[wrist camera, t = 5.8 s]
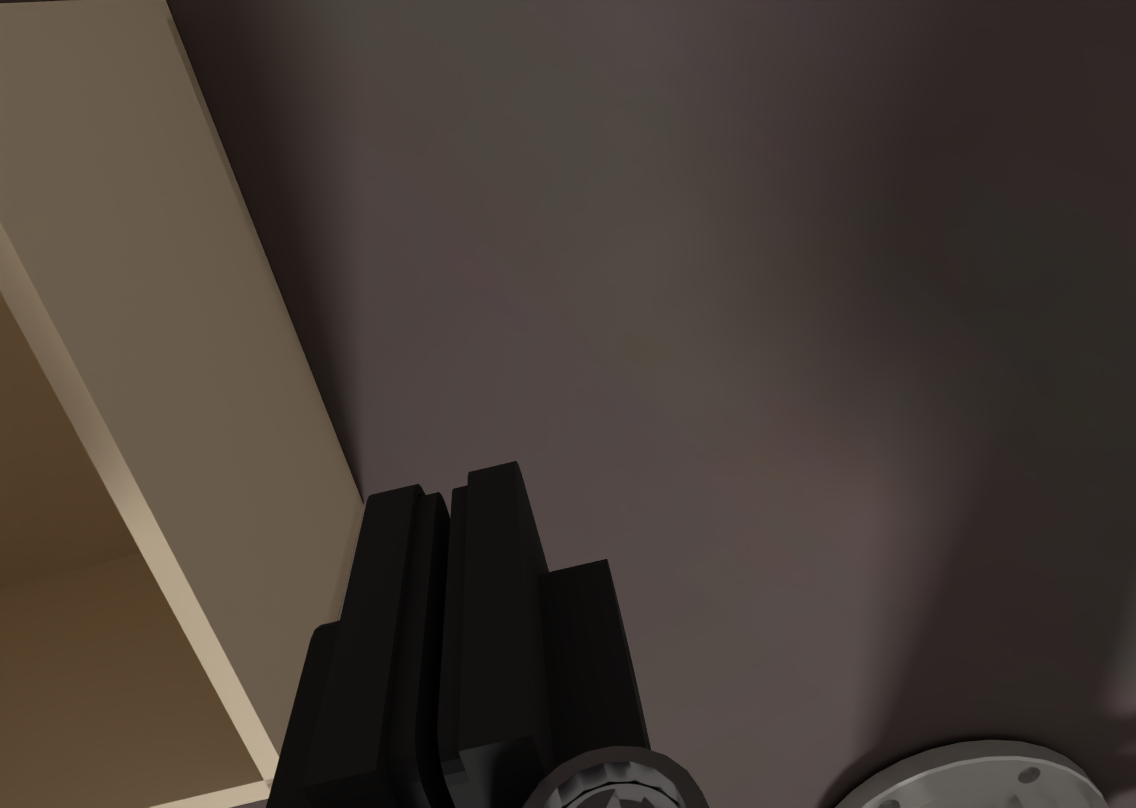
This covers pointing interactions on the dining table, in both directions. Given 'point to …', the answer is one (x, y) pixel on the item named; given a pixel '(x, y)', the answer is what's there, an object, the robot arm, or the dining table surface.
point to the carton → (146, 435)
